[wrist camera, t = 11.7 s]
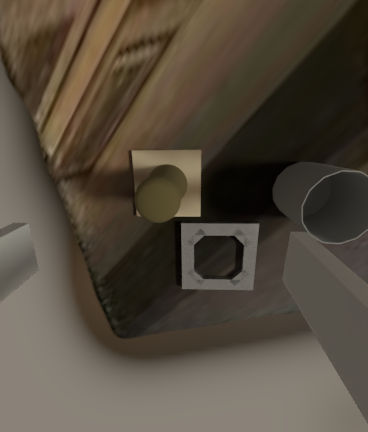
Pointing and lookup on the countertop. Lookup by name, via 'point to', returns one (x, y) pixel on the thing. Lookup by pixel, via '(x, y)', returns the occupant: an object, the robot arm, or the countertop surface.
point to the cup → (324, 200)
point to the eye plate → (239, 229)
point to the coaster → (180, 158)
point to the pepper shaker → (161, 193)
